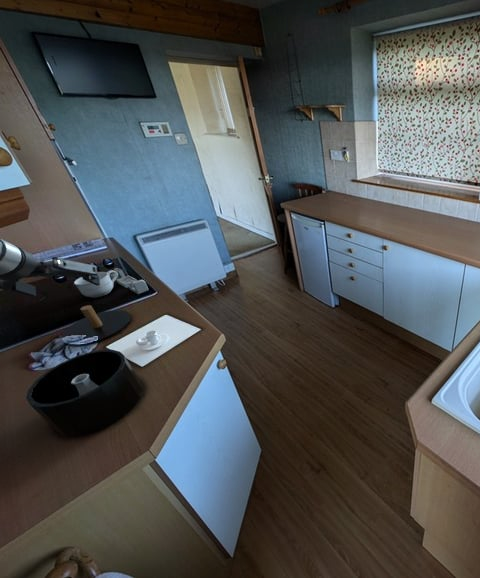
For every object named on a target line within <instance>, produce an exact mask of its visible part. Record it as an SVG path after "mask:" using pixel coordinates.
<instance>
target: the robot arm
mask: <svg viewBox="0 0 480 578" xmlns="http://www.w3.org/2000/svg"><path fill="white" fill-rule="evenodd" d="M97 267H98V266H97V265H93V264H90V263H83V262H78V261H73V260H69V259H64V258H62V257H59V256H52V258H51V260H48V261H45V260H42V259H38V258H36V257H35V255H33V254H32V253H31V252H30V251H28V250H25V249H23V248H21V247H20V246H17V245H14V244H12V243H10V242H8V241H6V240H4V239H1V238H0V280H1V281H0V290H2V291H10V292H14V293H20V294H22V295H26V296H30V297H37V290H36V286H35V285H32V284H29V283H27V282H24V281H20V280H23V279H28V278H37V277H44V278H52V277H55V276H58V277H70V278H71V277H73V278H80V277H83V280H86V281H88V282H90V283H92V284H94V285H96V286H99V285H100V280H99V276H97V275H98V273H97V272H98V268H97ZM47 271H48V272H47Z"/></svg>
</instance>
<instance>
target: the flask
mask: <svg viewBox="0 0 480 578" xmlns="http://www.w3.org/2000/svg"><path fill="white" fill-rule="evenodd" d="M71 384H73V385H75V386H76V387H77V390H78V392H79V396H81V395H84V394H86V393H88V392H90V391H91V390H93V389H95V388H97V387H99V386H98V385H96V384H95V383H94V382H92V381H91V380H90V379H89V374H82V375H78V376H76V377H75V378H74V379H72V382H71Z"/></svg>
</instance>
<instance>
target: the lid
mask: <svg viewBox="0 0 480 578" xmlns="http://www.w3.org/2000/svg"><path fill="white" fill-rule="evenodd" d="M80 311H81V313H82V314H83V316H84V317H83V318H81V319H79V320H77V321H76V322H74V323H73V324H71V325H70V326H68V327H67V328H66V329H65V330H64V331H63V332H62V334H61V336H60V338H61V337H65V336H71V335H86V336H87V337H93V336H98V340H97V341H93V343H97V342H100V341H102V340H106V339H107V338H110V337H112V336H115V335H116V334H118V333H119V332H121V331H123V330H124V329H125V328H126V327H127V326H128V325H129V324H130V323H131V321H132V315H131V313H130V312H128V311H126V310H121V309H115V310H107V311H102V312H98V313H96V311H95V309H94V308H93V306H92V305H90V304H89V305H84V306H82V307H80Z"/></svg>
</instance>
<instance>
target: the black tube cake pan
mask: <svg viewBox="0 0 480 578" xmlns="http://www.w3.org/2000/svg"><path fill="white" fill-rule="evenodd" d="M82 374H89V379H90V380H91V381H92V382H94V383H95V384H96V385H98V386H99V387H97V388H95V389H93V390H91V391H90V392H88V393H86V394H84V395H81V396H79V392H78V390H77V387H76V386H75V385H73V384H71V382H72V379H74V378H75V377H76V376H78V375H82ZM143 392H144V386H143V383H142V382H141V380H140V378H139V377H138V375H137V373H136V372H135V371H134V369H133V367H132V365H131V364H130V362H129V361H128V359H127V358H125V356H124V355H123V354H122V353H121V352H119V351H115V350H110V349H99V350H93V351H88V352H85V353H83V354H79V355H76V356H73V357H71V358H69V359H67V360H65V361H63V362H61V363H59V364H56V365H55V366H54V367H52V368H50V369H49V370H47V371H46V372H44V373H43V374H42V375H40V376H39V377H38V378H37V379H36V380H35V381H34V382H33V383H32V385H31V386H30V387H29V388H28V389H27V393H26V396H25V399H26V401H27V402H28V404H29V405H30V406H31V407H32V408H33V409H34V410H35V412H37V413H38V415H40V416H41V418H42V419H44V420H45V422H47V424H48V425H50V427H51V428H53V430H55V432H56V433H58V434H60V435H62V436H64V437H69V438H70V437H71V438H72V437H82V436H86V435H90V434H93V433H96V432H98V431H101V430H103V429H105V428H108V427H109V426H111V425H113V424H115V423H116V422H117V421H119V420H120V419H122V418H123V417H125V416H126V415H127V414H128V413H129V412H130V411H132V409H134V407H136V405H137V404H138V403H139V401H140V399H141V398H142V396H143Z"/></svg>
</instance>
